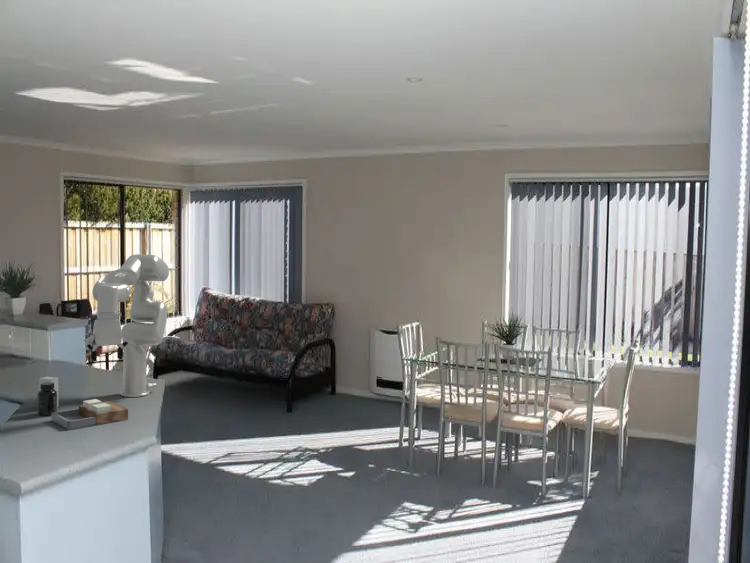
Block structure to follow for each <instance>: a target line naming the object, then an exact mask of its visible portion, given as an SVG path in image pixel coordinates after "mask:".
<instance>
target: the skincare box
mask: <svg viewBox="0 0 750 563" xmlns="http://www.w3.org/2000/svg"><path fill="white" fill-rule="evenodd" d="M46 382H53V383H54V386H55V388H54V389H55V390H56V391H57V408H58V407H59V377H58V376H57V377H55V376H54V377H53V376H42V377H39V378H38V392H39V391H40V390H41V389H40V384H41V383H46Z"/></svg>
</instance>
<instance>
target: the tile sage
mask: <svg viewBox="0 0 750 563" xmlns="http://www.w3.org/2000/svg"><path fill="white" fill-rule="evenodd" d="M92 411H94V412H96V413H101V412H107V411H111V406H110V405H108V404H106V403H102V404H96V405H92Z"/></svg>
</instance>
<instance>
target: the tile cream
mask: <svg viewBox="0 0 750 563" xmlns="http://www.w3.org/2000/svg"><path fill="white" fill-rule="evenodd" d="M102 402H103V401H101V400H99V399H97V398H93V399H87V400H83V401H82V405H83V406H84V407H86V408H88V409H90V408H92V405H96V404H102Z"/></svg>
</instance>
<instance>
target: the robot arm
mask: <svg viewBox="0 0 750 563" xmlns="http://www.w3.org/2000/svg"><path fill="white" fill-rule="evenodd" d="M169 275H170V269H169V266H168V264H167V263H166V262H165V261H164V260H163V259H162V258H160V257H159V256H158V255H155V254H138V253H137V254H132V255H130V256H128V257H127V259H126V260H125V261H124V262H123V264H122V266H121V267H120V268H117V269H114V270H113V271H110V272H108V273H105V274H103V275H102V276H101V277H99V278H98V279H97V281H96V282H95V283H94V285H93V287H92V297H93V299H94V300H95V301H97V302H96V303H97V304H96V306H97V307H96V310H97V312H96V319H95V320H94V323H93V328H92V335H90V336H88V337H86V338H85V339H84V340H83V343H84V345H85V347H86V348H88V350H90V359H91V361H92V362H97V361H98V360H97V359H98V358H97V357H98V352H97V349H98V348H99V347H105V346H106V347H107V346H117V349H116V350H117V351H116V352H117V355H116V356H117V357H116V358H117V359H119V360H122V359H123V365H122V366H123V368H122V370H123V371H122V373H123V374H122V380H123V382H122V384H123V385H122V390H120V391H119V396H120V395H121V396H120V397H123V396H124V397H123V398H125V397H126V398H138V397H141V398H142V397H145V396H148V395H150V394H151V393H150V391H151V390H150V389H154V388H157V383H155V382H154V383H151V382H149V383H148V382H147V352H146V350H145V349H144V347H143V346H158V345H160V344H161V343H162V342H163V338H164V335H165V331H166V330H165V329H166V324H167V320H168V306H167V305H166V303H165V302H163V301H157V300H156V301H155V300H154V294H155V293H154V290H153V289H152V287H151V286H150V285H149V284H148V282H164V281H166V280H167V279H168V277H169ZM130 286H132V288H133V296H132V289H131V287H130ZM131 296H132V300H131V305H130V310H129V318H130V319H131V321H134V322H129V323H126V324H124V325H123V327H122V326H121V321H120V319H119V318H120V317H122V312H119V303H125V302H126V301H128V300H129V299H130V298H131ZM90 342H92V345H91V344H90Z"/></svg>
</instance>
